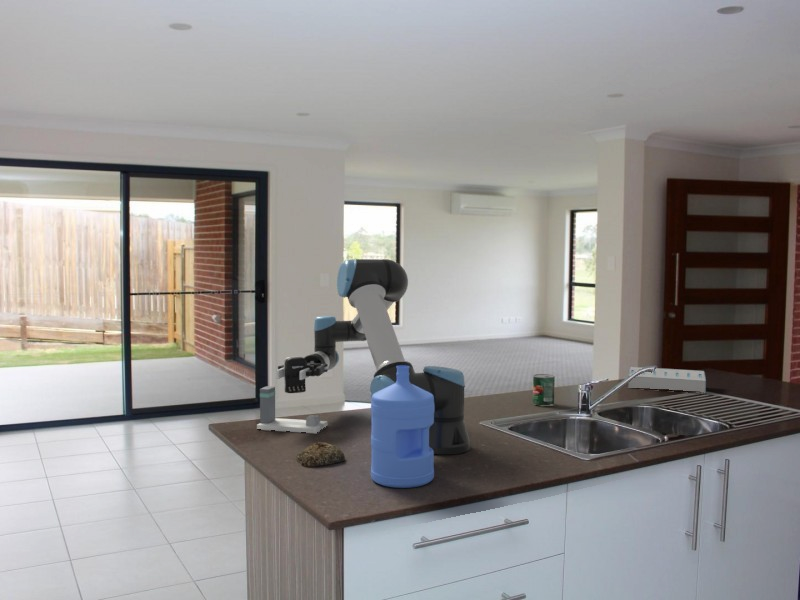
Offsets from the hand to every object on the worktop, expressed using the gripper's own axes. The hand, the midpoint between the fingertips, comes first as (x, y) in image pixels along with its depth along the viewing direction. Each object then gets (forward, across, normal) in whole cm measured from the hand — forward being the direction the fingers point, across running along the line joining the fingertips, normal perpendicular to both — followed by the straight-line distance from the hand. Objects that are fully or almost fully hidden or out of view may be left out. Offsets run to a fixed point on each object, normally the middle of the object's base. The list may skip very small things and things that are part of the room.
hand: (289, 375), depth 215 cm
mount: (-5, +1, -18) cm, 19 cm away
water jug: (+36, -45, -18) cm, 61 cm away
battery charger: (-5, 0, -7) cm, 8 cm away
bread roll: (+26, -19, -18) cm, 37 cm away
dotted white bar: (-109, -125, -18) cm, 167 cm away
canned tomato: (-61, -76, -18) cm, 99 cm away
